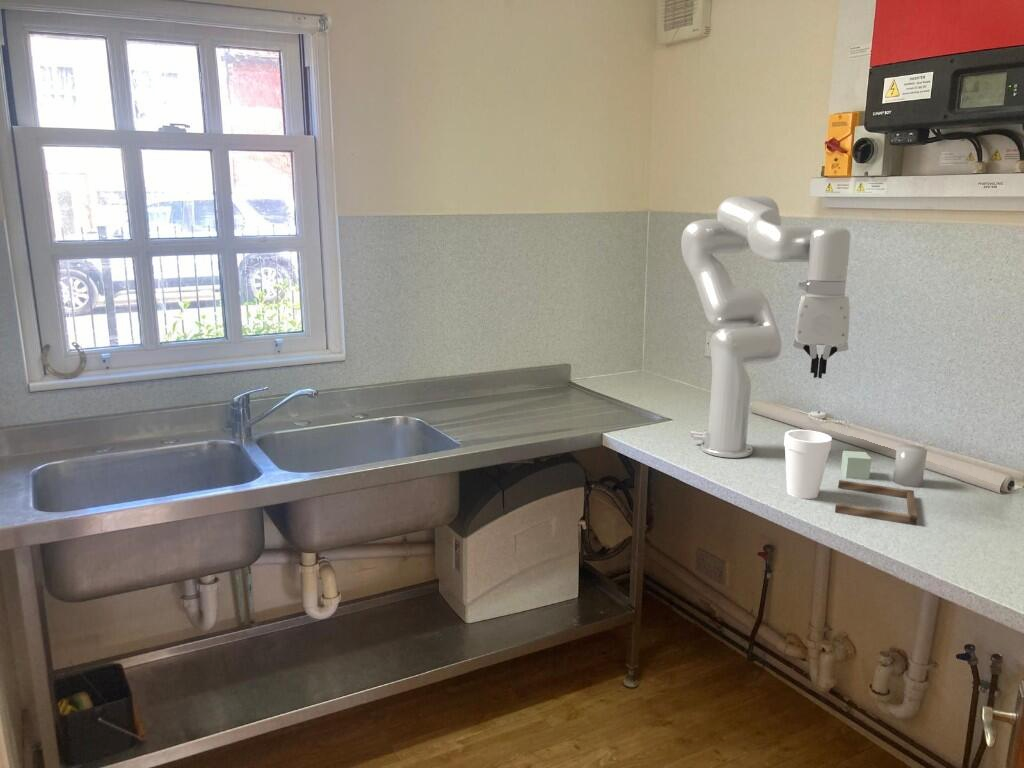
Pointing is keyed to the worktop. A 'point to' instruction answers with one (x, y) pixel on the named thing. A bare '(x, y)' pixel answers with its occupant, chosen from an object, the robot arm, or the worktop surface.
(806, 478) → the foam cup
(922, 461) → the grey ceramic jar
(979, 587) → the worktop surface
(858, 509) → the dark wooden bay
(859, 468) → the sage painted block
